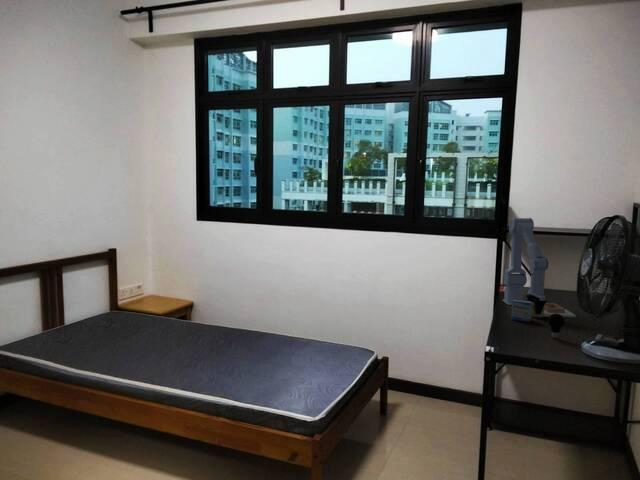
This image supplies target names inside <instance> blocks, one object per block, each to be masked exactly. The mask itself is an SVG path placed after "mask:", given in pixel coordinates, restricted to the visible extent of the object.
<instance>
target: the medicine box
mask: <svg viewBox="0 0 640 480" xmlns="http://www.w3.org/2000/svg"><path fill="white" fill-rule="evenodd" d="M531 309H532V302H531V301H528V300H522V299H521V300H515V299H513V302H512V305H511V317H510V319H511V320H512V321H519V322H526V323H530V322H531V320H532V317H531Z"/></svg>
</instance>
